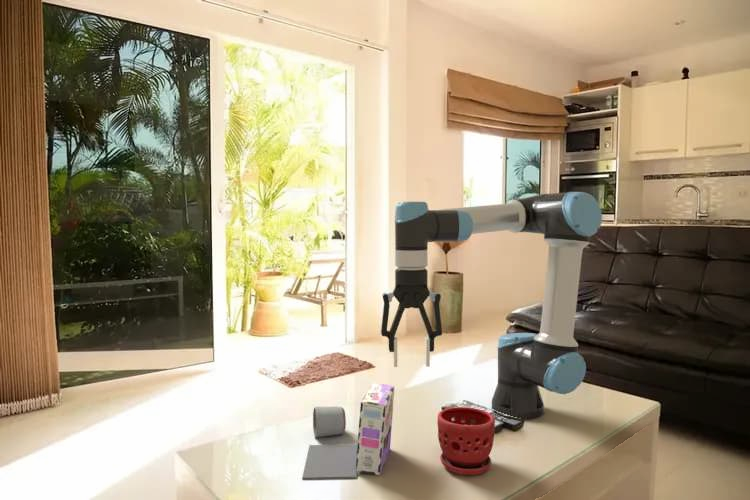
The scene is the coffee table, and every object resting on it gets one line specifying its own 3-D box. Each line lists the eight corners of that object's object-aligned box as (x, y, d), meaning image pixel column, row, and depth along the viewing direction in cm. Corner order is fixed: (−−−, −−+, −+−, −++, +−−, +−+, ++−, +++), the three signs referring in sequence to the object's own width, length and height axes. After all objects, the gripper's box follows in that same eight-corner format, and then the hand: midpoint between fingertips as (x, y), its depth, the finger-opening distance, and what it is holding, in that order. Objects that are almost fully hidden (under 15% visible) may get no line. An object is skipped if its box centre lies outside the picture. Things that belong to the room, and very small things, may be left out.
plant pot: (505, 474, 113) (505, 422, 112) (451, 483, 109) (452, 429, 108) (477, 449, 125) (477, 402, 124) (428, 456, 121) (428, 408, 121)
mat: (357, 445, 127) (357, 444, 127) (356, 478, 111) (356, 476, 111) (309, 446, 127) (309, 445, 127) (302, 479, 111) (302, 477, 111)
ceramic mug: (347, 438, 132) (346, 409, 131) (315, 442, 130) (315, 412, 129) (339, 423, 142) (339, 396, 141) (310, 426, 140) (310, 399, 139)
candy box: (380, 476, 112) (385, 405, 111) (354, 472, 113) (359, 401, 112) (390, 448, 125) (395, 384, 124) (367, 445, 127) (372, 381, 125)
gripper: (450, 266, 121) (450, 360, 122) (368, 266, 120) (369, 361, 122) (456, 269, 113) (456, 369, 115) (369, 270, 113) (369, 370, 114)
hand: (411, 365), depth 118 cm, fingers open, 7 cm apart
